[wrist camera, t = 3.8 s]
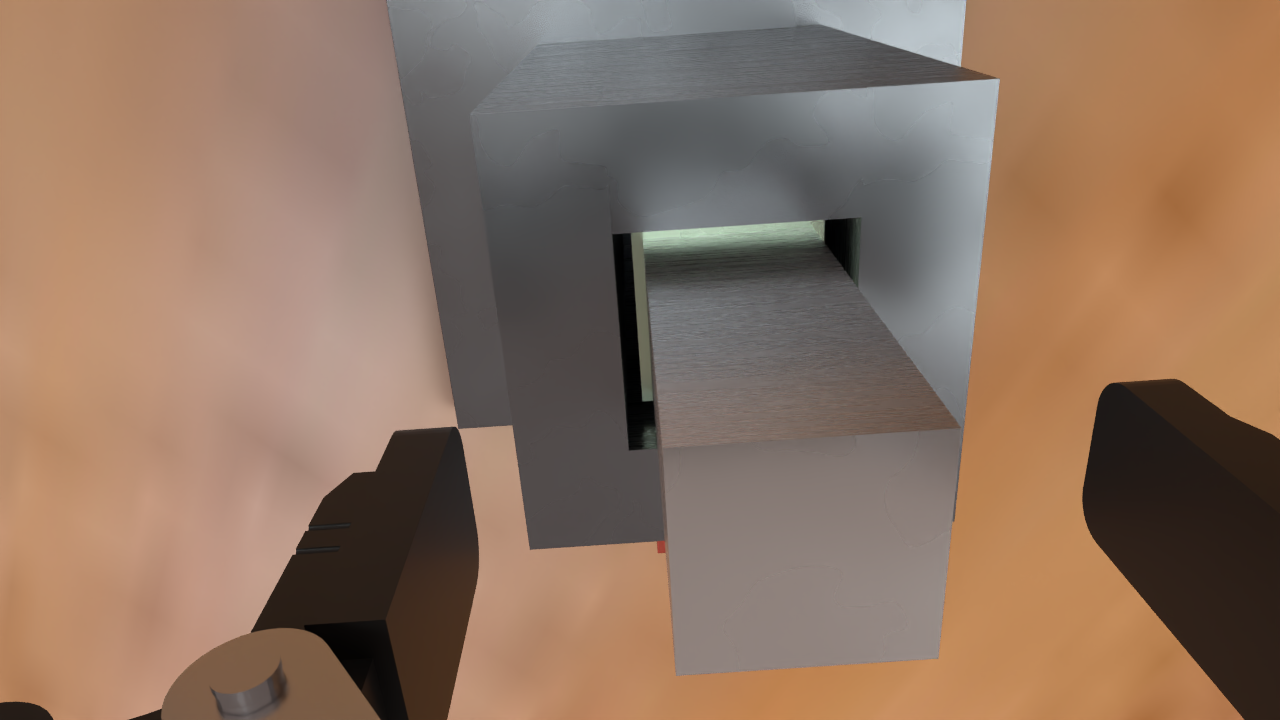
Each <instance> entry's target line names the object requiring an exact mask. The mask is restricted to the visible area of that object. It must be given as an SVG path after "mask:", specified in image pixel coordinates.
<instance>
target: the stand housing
mask: <svg viewBox="0 0 1280 720" xmlns="http://www.w3.org/2000/svg"><path fill="white" fill-rule="evenodd" d="M386 1H387V7H388V13H389V19H390V25H391V31H392V37H393V43H394V49H395V55H396V61H397V67H398V73H399V79H400V84H401V90H402V96H403V102H404V108H405V114H406V120H407V126H408V132H409V138H410V144H411V150H412V156H413V162H414V168H415V173H416V179H417V185H418V191H419V197H420V203H421V209H422V215H423V221H424V227H425V233H426V239H427V245H428V251H429V257H430V262H431V268H432V274H433V280H434V286H435V292H436V298H437V304H438V310H439V316H440V322H441V328H442V334H443V340H444V346H445V351H446V357H447V363H448V369H449V375H450V381H451V387H452V393H453V399H454V405H455V411H456V417H457V423H458V429H462V428H477V427H492V426H507V425H513V431H514V438H515V445H516V453H517V460H518V467H519V474H520V481H521V489H522V496H523V503H524V510H525V517H526V524H527V532H528V539H529V546H530V550H531V549H546V548H561V547H576V546H591V545H607V544H622V543H637V542H652V541H657V548H658V553H666V549H665V537H664V525H663V513H662V501H661V489H660V477H659V465H658V453H657V441H656V429H655V417H654V405H653V401H642V387H641V372H640V358H639V343H638V329H637V314H636V300H635V285H634V271H633V256H632V242H631V233H637V232H652V231H667V230H682V229H696V228H711V227H726V226H741V225H756V224H771V223H786V222H800V221H815V220H825V222H824V243H825V244H826V246H827V247H828V248H829V250H830V251H831V252H832V254H833V255H834V256H835V258H836V259H837V261H838V262H839V263H840V265H841V266H842V267H843V269H844V270H845V271H846V273H847V274H848V275H849V277H850V278H851V279H852V281H853V282H854V283H855V285H856V286H857V287H858V289H859V290H860V292H861V293H862V294H863V296H864V297H865V298H866V300H867V301H868V302H869V304H870V305H871V306H872V308H873V309H874V310H875V312H876V313H877V314H878V316H879V317H880V319H881V320H882V321H883V323H884V324H885V325H886V327H887V328H888V329H889V331H890V332H891V333H892V335H893V336H894V337H895V339H896V340H897V341H898V343H899V344H900V345H901V347H902V348H903V350H904V351H905V352H906V354H907V355H908V356H909V358H910V359H911V360H912V362H913V363H914V364H915V366H916V367H917V368H918V370H919V371H920V372H921V374H922V375H923V376H924V378H925V379H926V381H927V382H928V383H929V385H930V386H931V387H932V389H933V390H934V391H935V393H936V394H937V395H938V397H939V398H940V399H941V401H942V402H943V403H944V405H945V406H946V408H947V409H948V410H949V412H950V413H951V414H952V416H953V417H954V418H955V420H956V421H957V422H958V424H959V425H960V426H961V428H962V431H961V441H960V451H959V461H958V471H957V480H956V490H955V500H954V510H953V520H952V522H954V519H955V509H956V500H957V490H958V480H959V470H960V461H961V451H962V441H963V431H964V422H965V412H966V402H967V393H968V383H969V373H970V363H971V354H972V344H973V334H974V325H975V315H976V305H977V295H978V286H979V276H980V266H981V257H982V247H983V237H984V227H985V218H986V208H987V198H988V189H989V179H990V169H991V159H992V150H993V140H994V130H995V121H996V111H997V101H998V91H999V82H1000V79H999V78H996V77H993V76H989V75H986V74H983V73H979V72H976V71H973V70H969V69H966V68H963V67H961V57H962V45H963V33H964V21H965V10H966V0H386Z"/></svg>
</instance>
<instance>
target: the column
mask: <svg viewBox="0 0 1280 720" xmlns="http://www.w3.org/2000/svg"><path fill="white" fill-rule="evenodd" d="M824 222H825V220H815V221H800V222H786V223H771V224H756V225H741V226H726V227H711V228H696V229H682V230H667V231H652V232H637V233H631V242H632V256H633V271H634V285H635V300H636V314H637V329H638V343H639V358H640V372H641V387H642V401H653V405H654V417H655V429H656V441H657V453H658V465H659V477H660V489H661V501H662V513H663V525H664V537H665V549H666V561H667V573H668V585H669V597H670V609H671V621H672V633H673V645H674V657H675V669H676V676H680V675H695V674H710V673H726V672H741V671H756V670H771V669H787V668H802V667H817V666H832V665H848V664H863V663H878V662H893V661H909V660H924V659H938V657H939V647H940V637H941V628H942V618H943V608H944V598H945V588H946V579H947V569H948V559H949V549H950V539H951V529H952V520H953V510H954V500H955V490H956V480H957V471H958V461H959V451H960V441H961V431H962V428H961V426H960V425H959V424H958V422H957V421H956V420H955V418H954V417H953V416H952V414H951V413H950V412H949V410H948V409H947V408H946V406H945V405H944V403H943V402H942V401H941V399H940V398H939V397H938V395H937V394H936V393H935V391H934V390H933V389H932V387H931V386H930V385H929V383H928V382H927V381H926V379H925V378H924V376H923V375H922V374H921V372H920V371H919V370H918V368H917V367H916V366H915V364H914V363H913V362H912V360H911V359H910V358H909V356H908V355H907V354H906V352H905V351H904V350H903V348H902V347H901V345H900V344H899V343H898V341H897V340H896V339H895V337H894V336H893V335H892V333H891V332H890V331H889V329H888V328H887V327H886V325H885V324H884V323H883V321H882V320H881V319H880V317H879V316H878V314H877V313H876V312H875V310H874V309H873V308H872V306H871V305H870V304H869V302H868V301H867V300H866V298H865V297H864V296H863V294H862V293H861V292H860V290H859V289H858V287H857V286H856V285H855V283H854V282H853V281H852V279H851V278H850V277H849V275H848V274H847V273H846V271H845V270H844V269H843V267H842V266H841V265H840V263H839V262H838V261H837V259H836V258H835V256H834V255H833V254H832V252H831V251H830V250H829V248H828V247H827V246H826V244H825V243H824Z"/></svg>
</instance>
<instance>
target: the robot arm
mask: <svg viewBox="0 0 1280 720" xmlns="http://www.w3.org/2000/svg"><path fill="white" fill-rule="evenodd" d="M1082 502H1083V511H1084V516H1085V520H1086V523H1087V526H1088V529H1089V531H1090V533H1091V535H1092V537H1093V539H1094V540H1095V542H1096V543H1097V544H1098V545H1099V547H1100V548H1101V549H1102V550H1103V551H1104V552H1105V554H1106V555H1107V556H1108V557H1109V558H1110V560H1111V561H1112V562H1113V563H1114V564H1115V566H1116V567H1117V568H1118V569H1119V570H1120V572H1121V573H1122V574H1123V575H1124V576H1125V578H1126V579H1127V580H1128V581H1129V582H1130V584H1131V585H1132V586H1133V587H1134V588H1135V589H1136V591H1137V592H1138V593H1139V594H1140V595H1141V597H1142V598H1143V599H1144V600H1145V601H1146V603H1147V604H1148V605H1149V606H1150V607H1151V609H1152V610H1153V611H1154V612H1155V613H1156V615H1157V616H1158V617H1159V618H1160V619H1161V620H1162V622H1163V623H1164V624H1165V625H1166V626H1167V628H1168V629H1169V630H1170V631H1171V632H1172V634H1173V635H1174V636H1175V637H1176V638H1177V640H1178V641H1179V642H1180V643H1181V644H1182V646H1183V647H1184V648H1185V649H1186V650H1187V652H1188V653H1189V654H1190V655H1191V656H1192V657H1193V659H1194V660H1195V661H1196V662H1197V663H1198V665H1199V666H1200V667H1201V668H1202V669H1203V671H1204V672H1205V673H1206V674H1207V675H1208V677H1209V678H1210V679H1211V680H1212V681H1213V683H1214V684H1215V685H1216V686H1217V687H1218V688H1219V690H1220V691H1221V692H1222V693H1223V694H1224V696H1225V697H1226V698H1227V699H1228V700H1229V702H1230V703H1231V704H1232V705H1233V706H1234V708H1235V709H1236V710H1237V711H1238V712H1239V714H1240V715H1241V716H1242V717H1243V718H1244V720H1280V440H1279V439H1278V438H1276V437H1275V436H1274V435H1272V434H1270V433H1268V432H1265V431H1263V430H1261V429H1258V428H1256V427H1253V426H1251V425H1249V424H1246V423H1244V422H1242V421H1239V420H1237V419H1235V418H1232V417H1230V416H1229V415H1227V414H1226V413H1225V412H1223V411H1222V410H1221V409H1219V408H1218V407H1216V406H1215V405H1214V404H1212V403H1211V402H1210V401H1208V400H1207V399H1205V398H1204V397H1203V396H1201V395H1200V394H1199V393H1197V392H1196V391H1195V390H1193V389H1192V388H1190V387H1189V386H1188V385H1186V384H1185V383H1183V382H1182V381H1180V380H1177V379H1163V380H1148V381H1134V382H1119V383H1112V384H1109V385H1108V386H1106V387H1105V389H1104V390H1103V391H1102V393H1101V395H1100V398H1099V401H1098V405H1097V411H1096V417H1095V423H1094V428H1093V434H1092V440H1091V446H1090V452H1089V458H1088V463H1087V469H1086V475H1085V481H1084V487H1083V496H1082ZM478 569H479V546H478V534H477V528H476V522H475V516H474V510H473V504H472V498H471V492H470V486H469V480H468V474H467V468H466V462H465V456H464V450H463V444H462V440H461V436H460V433H459V431H458V429H457V428H456V427H444V428H429V429H414V430H400V431H395V432H394V433H393V435H392V437H391V439H390V441H389V443H388V445H387V448H386V450H385V452H384V454H383V456H382V458H381V460H380V463H379V465H378V467H377V469H376V471H375V472H361V473H353V474H352V475H350V476H349V477H348V478H347V479H346V480H344V481H343V482H342V483H341V484H340V485H338V486H337V487H336V488H335V489H334V490H332V491H331V492H330V493H329V494H328V495H326V496H325V497H324V498H323V500H322V502H321V503H320V505H319V507H318V509H317V511H316V513H315V514H314V516H313V518H312V520H311V522H310V524H309V531H305V533H304V535H303V537H302V539H301V540H300V542H299V544H298V546H297V548H296V555H292V557H291V559H290V561H289V563H288V564H287V566H286V568H285V570H284V572H283V574H282V576H281V577H280V579H279V581H278V583H277V585H276V587H275V589H274V590H273V592H272V594H271V596H270V598H269V600H268V601H267V603H266V605H265V607H264V609H263V611H262V613H261V614H260V616H259V618H258V620H257V622H256V624H255V626H254V627H253V629H252V631H251V633H249V634H246V635H243V636H240V637H237V638H235V639H233V640H230V641H228V642H226V643H224V644H222V645H220V646H218V647H216V648H214V649H212V650H211V651H209V652H208V653H206V654H205V655H203V656H201V657H200V658H199V659H197V660H196V661H195V662H194V663H192V664H191V665H190V666H189V667H188V668H187V669H186V670H185V671H184V672H183V673H182V674H181V675H180V676H179V677H178V678H177V679H176V681H175V682H174V683H173V685H172V686H171V688H170V689H169V691H168V693H167V695H166V696H165V699H164V702H163V705H162V709H160V710H157V711H154V712H151V713H148V714H145V715H143V716H139V717H136V718H133V719H129V720H447V718H448V713H449V708H450V704H451V699H452V695H453V690H454V686H455V681H456V676H457V672H458V667H459V663H460V658H461V653H462V649H463V644H464V640H465V635H466V630H467V626H468V621H469V617H470V612H471V608H472V603H473V598H474V594H475V589H476V585H477V579H478ZM0 720H53V718H52V716H51V715H50V714H49V713H48V711H47V710H45V709H43V708H42V707H40V706H38V705H35V704H31V703H25V702H3V703H0Z"/></svg>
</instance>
